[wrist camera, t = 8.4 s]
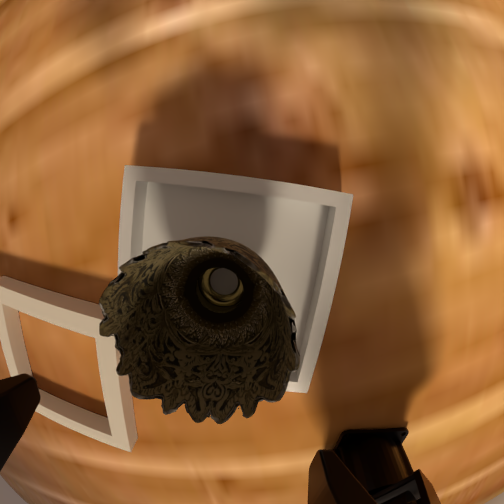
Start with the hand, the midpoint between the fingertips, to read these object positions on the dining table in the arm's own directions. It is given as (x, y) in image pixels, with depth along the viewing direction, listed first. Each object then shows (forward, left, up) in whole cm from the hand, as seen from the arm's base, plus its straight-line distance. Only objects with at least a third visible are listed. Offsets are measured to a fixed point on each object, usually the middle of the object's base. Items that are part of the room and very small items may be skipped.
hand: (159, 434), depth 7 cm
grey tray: (0, -1, -12) cm, 12 cm away
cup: (0, -1, -11) cm, 11 cm away
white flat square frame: (+13, +9, -12) cm, 20 cm away
